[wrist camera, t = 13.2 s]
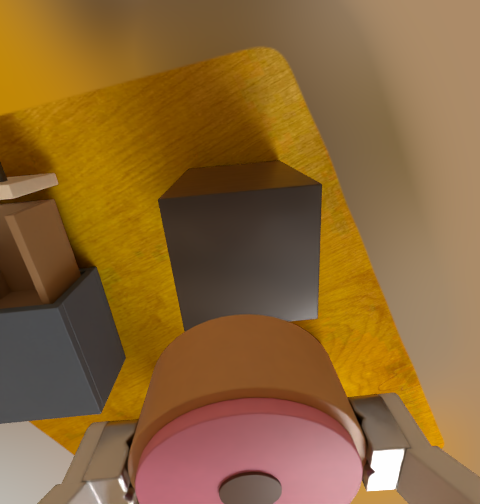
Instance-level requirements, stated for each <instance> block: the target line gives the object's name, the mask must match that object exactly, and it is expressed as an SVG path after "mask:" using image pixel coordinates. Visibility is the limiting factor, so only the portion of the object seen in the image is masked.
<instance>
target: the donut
mask: <svg viewBox="0 0 480 504" xmlns="http://www.w3.org/2000/svg"><path fill="white" fill-rule="evenodd" d="M366 449H367V446H366V439H365V437H364V434H363V432H362V430H361V427H360V425H359V423H358V421H357V418H356V416H355V414H354V412H353V409H352V407H351V405H350V403H349V400H348V398H347V396H346V394H345V392H344V389H343V387H342V385H341V383H340V380H339V378H338V376H337V374H336V371H335V369H334V367H333V365H332V362H331V360H330V358H329V356H328V354H327V352H326V351H325V349H324V347H323V346H322V345H321V344H320V343H319V341H318V340H317V339H316V338H314V337H313V336H312V335H311V334H310V333H308V332H307V331H305V330H304V329H302V328H300V327H299V326H297V325H295V324H292V323H290V322H288V321H285V320H282V319H278V318H275V317H270V316H264V315H252V314H243V315H231V316H225V317H220V318H216V319H212V320H209V321H206V322H204V323H201V324H199V325H196V326H194V327H193V328H191V329H189V330H187V331H185V332H184V333H183V334H181V335H180V336H178V337H177V338H176V339H175V340H174V341H173V342H172V343H171V344H169V345H168V347H167V348H166V349H165V350H164V352H163V353H162V354H161V356H160V358H159V359H158V361H157V363H156V366H155V369H154V371H153V375H152V378H151V381H150V385H149V388H148V391H147V395H146V398H145V401H144V405H143V408H142V411H141V415H140V418H139V421H138V425H137V428H136V431H135V435H134V438H133V441H132V445H131V448H130V451H129V456H128V463H127V464H128V474H129V477H130V479H131V480H130V482H131V485H132V486H133V488H134V489H135V493H136V496H137V499H138V502H139V504H350V503H351V501H352V500H353V498H354V497H355V495H356V494H357V492H358V490H359V488H360V484H361V481H362V473H363V469H364V465H365V464H366V461H367V458H366Z"/></svg>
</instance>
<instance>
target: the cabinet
mask: <svg viewBox="0 0 480 504" xmlns="http://www.w3.org/2000/svg"><path fill="white" fill-rule="evenodd" d="M79 271H80V274H81V276H80V277H79V278H78V279H77V280H76V281H75V282H74V283H73V284H72V285H71V286H70V287H69V288H68V289H67V290H66V291H65V292H64V293H63V294H62V295H61V296H60V297H59V298H58V299H57V300H56V301H55V302H54V304H44V305H34V306H24V307H13V308H3V309H0V424H2V423H11V422H22V421H32V420H42V419H52V418H62V417H72V416H82V415H92V414H101V412H102V410H103V408H104V406H105V403H106V401H107V399H108V397H109V394H110V392H111V390H112V388H113V385H114V383H115V381H116V379H117V376H118V374H119V372H120V370H121V367H122V365H123V363H124V361H125V358H126V357H125V354H124V351H123V348H122V345H121V342H120V339H119V335H118V332H117V329H116V326H115V323H114V320H113V317H112V314H111V311H110V308H109V304H108V301H107V298H106V295H105V292H104V289H103V286H102V283H101V280H100V277H99V274H98V270H97V267H90V268H80V269H79Z"/></svg>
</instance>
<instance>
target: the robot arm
mask: <svg viewBox="0 0 480 504" xmlns="http://www.w3.org/2000/svg"><path fill="white" fill-rule="evenodd" d="M347 398H348V400H349V403H350V405H351V407H352V409H353V412H354V414H355V416H356V418H357V421H358V423H359V425H360V427H361V430H362V432H363V434H364V437H365V439H366V446H367V449H366V458H367V461H366V464H365V465H364V469H363V473H362V481H363V483H364V486H365V488H366V491H375V490H390V489H397V492H398V493H399V494H400V495H401V496H402V497H403V498H404V499H405V500H406V501H407V502H408V503H409V504H480V477H479V476H477V475H476V474H475V473H474V472H472V471H471V470H469V469H468V468H467V467H465V466H464V465H462V464H461V463H460V462H458V461H457V460H456V459H454V458H453V457H451V456H450V455H448V454H447V453H446V452H444V451H443V450H442V449H440V448H439V447H438V446H431V445H430V443H429V442H428V440H427V439H426V437H425V436H424V434H423V433H422V431H421V429H420V428H419V426H418V425H417V423H416V422H415V420H414V419H413V417H412V416H411V414H410V413H409V411H408V410H407V408H406V407H405V405H404V404H403V402H402V400H401V399H400V397H399V396H398V395H397V394H396V393H385V394H378V395H377V394H372V395H363V396H355V397H347ZM138 421H139V419H133V420H120V421H107V422H96V423H92V424H91V425H90V426H89V427H88V429H87V431H86V433H85V435H84V437H83V439H82V441H81V443H80V446H79V448H78V450H77V452H76V454H75V456H74V458H73V461H72V463H71V465H70V467H69V469H68V471H67V473H66V476H65V478H64V480H63V482H62V484H58V485H55V486H54V487H53V488H52V489H51V491H49V492H48V493H47V494H46V495H45V496H44V498H43V499H41V501H40V502H38V503H37V504H139V502H138V499H137V496H136V493H135V489H134V488H133V486H132V485H131V482H130V480H131V479H130V477H129V474H128V464H127V463H128V456H129V451H130V448H131V445H132V441H133V438H134V435H135V431H136V428H137V425H138Z"/></svg>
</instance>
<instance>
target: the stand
mask: <svg viewBox="0 0 480 504" xmlns="http://www.w3.org/2000/svg"><path fill="white" fill-rule="evenodd" d="M321 198H322V184H320V183H319V182H317V181H315V180H313V179H311V178H310V177H308V176H306V175H304V174H303V173H301V172H299V171H297V170H295V169H294V168H292V167H290V166H288V165H286V164H285V163H283V162H281V161H279V160H277V161H267V162H256V163H245V164H234V165H224V166H213V167H202V168H191V169H188V170H187V171H186V172H185V173H184V174H183V175H182V176H181V177H180V178H179V179H178V180H177V181H176V182H175V183H174V184H173V185H172V186H171V187H170V188H169V189H168V190H167V191H166V192H165V193H164V194H163V195H162V196H161V197H160V198H159V199H158V203H159V208H160V213H161V218H162V222H163V227H164V232H165V237H166V242H167V247H168V252H169V257H170V262H171V267H172V272H173V277H174V281H175V286H176V291H177V296H178V301H179V306H180V311H181V316H182V321H183V326H184V331H187V330H189V329H191V328H193V327H194V326H196V325H199V324H201V323H204V322H206V321H209V320H212V319H216V318H220V317H225V316H231V315H243V314H252V315H264V316H270V317H275V318H278V319H282V320H285V321H288V322H289V321H299V320H309V319H317V318H318V292H319V260H320V229H321Z"/></svg>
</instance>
